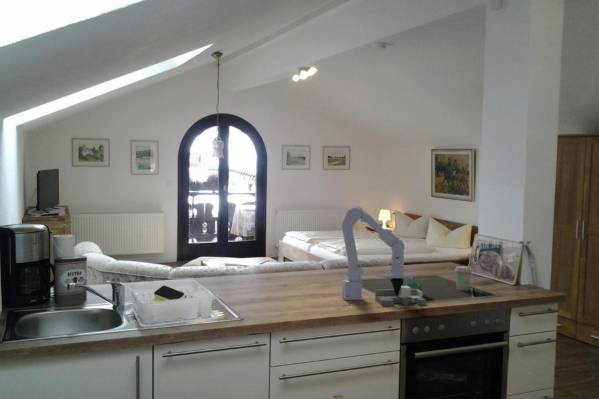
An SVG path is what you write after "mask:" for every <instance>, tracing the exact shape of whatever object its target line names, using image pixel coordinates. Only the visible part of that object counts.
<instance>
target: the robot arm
mask: <svg viewBox="0 0 599 399" xmlns="http://www.w3.org/2000/svg"><path fill="white" fill-rule="evenodd" d="M344 216H345V217H344V219H343V221H342V223H341V228H342V234H343V239H344V240H343V241H344V245H345V250H346V252H345V253H346V257H347V268H348V270H347V279H344V280H343V281H342V284H341V286H342V288H341V291H342V292H341V297H342V298H343V299H344V301H364V300H365V298H364V297H363V278H362V277H361V276H362V275H363V272H364V270H363V267H362V266H361V264H360V260H359V257H358V252H357V251H358V250H357V246H356V241H355V236H354V230H353V227H354V226H355V224H356V223H357V222H358V221H360V222H361V223H366V224H367V225H368V226H370V228H372V229H373V230H374V231H376V232H377V233H378V235H379V236H378V237H379V238H378V239H380V240H381V241H382V242H383V243H385V245H386V246H388V247H389V248H390V249H391V252H392V253H391V264H390V265H391V268H390V273H388V274H387V273H386V274H382V275H381V280H385V281H386V280H390V281H391V285H392V287H393V289H394V292H395V294H396V295H399V291H400V288H401V286H402V284H403V282H404V280H403V279H413V276H414V275H413V274H407V273H406V274H405V273H404V264H405V256H404V254H405V253H404V250H405V242H403V240H402V239H400V237H397V236H396V235H395V234H394V233H393V231H392V230H391V229H389V228H383V226H382V225H381V224H380V223H379V222H377V220H376V219H375V218H373V216H372V215H370V213H368V212H367V211H365V209H363V208H362V207H361V206H353V207H352V208H350V209H349V210H348V211H347V212H346V214H345V215H344Z"/></svg>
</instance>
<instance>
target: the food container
mask: <svg viewBox="0 0 599 399" xmlns="http://www.w3.org/2000/svg"><path fill="white" fill-rule="evenodd" d="M403 280H404V282H403V284H402V286H409V287H410V288H411V289H418V290H420V291H421V292H422V289H423V288H422V287H423V281H424V280H425V277H424V275H423V274H421V275H413V279H403Z"/></svg>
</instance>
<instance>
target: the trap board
mask: <svg viewBox="0 0 599 399" xmlns="http://www.w3.org/2000/svg"><path fill="white" fill-rule="evenodd" d="M374 292H375V293H374V299H375V301H376V302H377V303H378V304H380V306H383V307H386V306H387V307H388V306H389V307H390V306H395V305H394V304H401V305H403V306H409V304H416V305H418V306H426V304H427V300H426V299H425V298H424V297H423V296H424V292H423V291H422V290H421V291H420V290H418V289H411V295H410V297H400V296H399V295H396V294H395V292H394V288H392V289H390V288H389V289H387V288H386V289H375V291H374Z"/></svg>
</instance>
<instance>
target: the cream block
mask: <svg viewBox="0 0 599 399" xmlns="http://www.w3.org/2000/svg"><path fill="white" fill-rule="evenodd" d="M410 295H411V288H410V287H409V286H401V288H400V291H399V296H400V297H410Z"/></svg>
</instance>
